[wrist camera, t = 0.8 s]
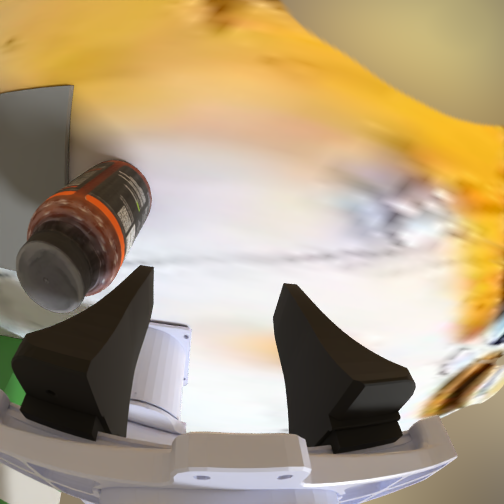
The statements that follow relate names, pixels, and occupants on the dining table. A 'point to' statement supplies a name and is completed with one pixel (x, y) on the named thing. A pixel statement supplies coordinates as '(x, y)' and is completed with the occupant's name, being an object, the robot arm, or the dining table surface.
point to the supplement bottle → (83, 235)
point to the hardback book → (3, 477)
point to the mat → (30, 159)
